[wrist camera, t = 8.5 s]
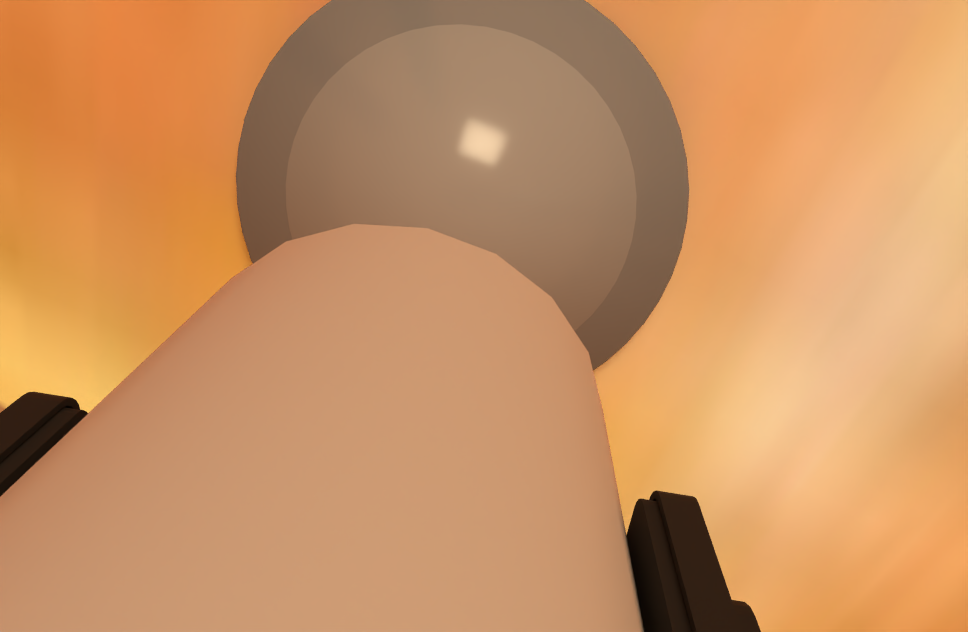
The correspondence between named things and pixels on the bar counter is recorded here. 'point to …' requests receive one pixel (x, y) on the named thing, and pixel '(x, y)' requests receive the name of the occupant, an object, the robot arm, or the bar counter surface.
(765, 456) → the bar counter surface
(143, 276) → the bar counter surface
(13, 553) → the can
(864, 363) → the bar counter surface
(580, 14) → the dish
